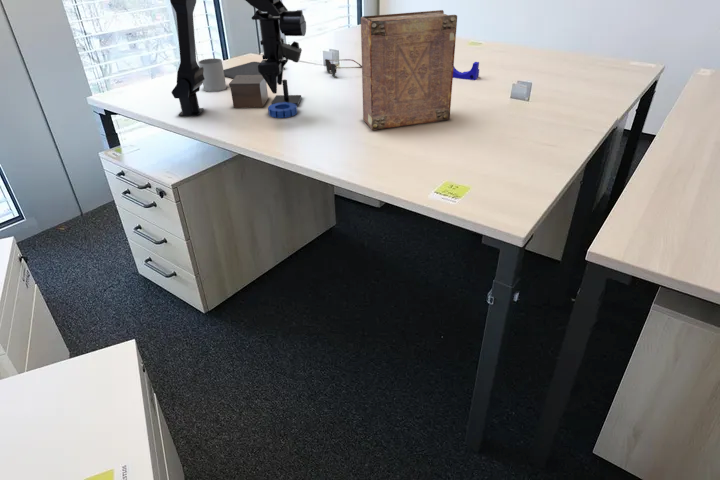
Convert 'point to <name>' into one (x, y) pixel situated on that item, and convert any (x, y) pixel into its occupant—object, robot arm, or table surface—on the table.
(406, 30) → the book
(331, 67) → the sunglasses
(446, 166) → the table surface
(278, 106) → the ring
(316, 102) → the table surface
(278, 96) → the peg stand
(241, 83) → the box
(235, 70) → the mouse pad
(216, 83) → the cup
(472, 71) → the cable clip
